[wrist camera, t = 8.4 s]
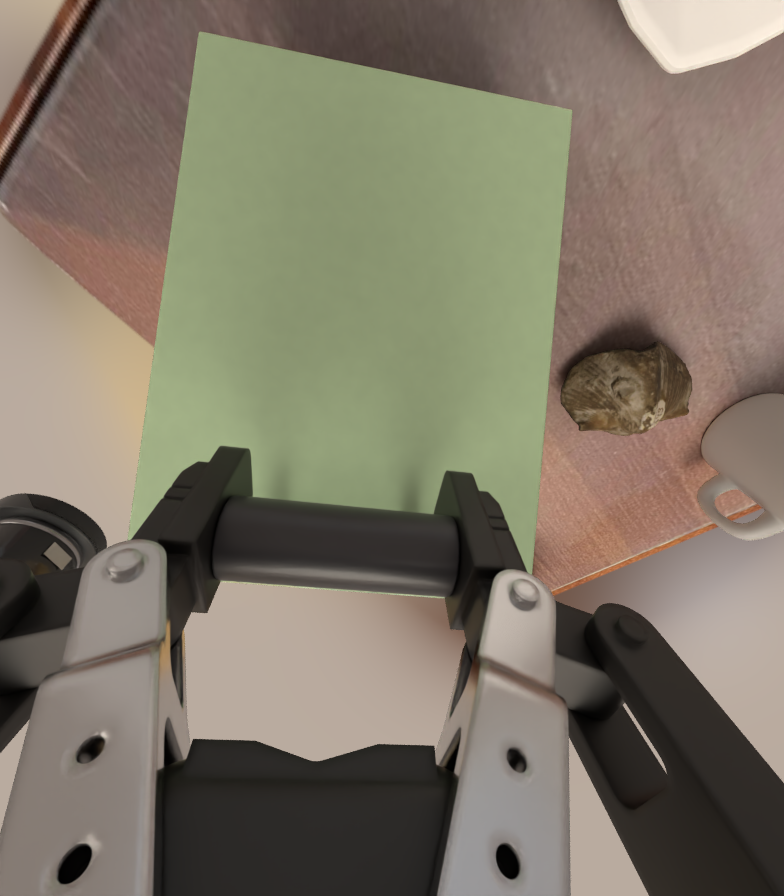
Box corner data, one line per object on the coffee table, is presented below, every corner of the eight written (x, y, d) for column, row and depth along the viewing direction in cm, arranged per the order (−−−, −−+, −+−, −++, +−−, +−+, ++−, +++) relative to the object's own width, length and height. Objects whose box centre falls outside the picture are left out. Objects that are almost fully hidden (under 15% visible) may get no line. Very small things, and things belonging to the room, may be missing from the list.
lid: (520, 597, 14) (621, 677, 9) (134, 568, 13) (-18, 642, 8) (562, 127, 15) (676, -55, 10) (206, 53, 14) (115, -203, 9)
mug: (779, 373, 33) (930, 439, 24) (809, 429, 37) (952, 506, 27) (650, 457, 38) (735, 539, 29) (687, 500, 41) (774, 586, 32)
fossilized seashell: (549, 435, 33) (644, 435, 36) (608, 436, 27) (719, 436, 29) (551, 349, 33) (646, 354, 35) (610, 329, 27) (722, 337, 29)
